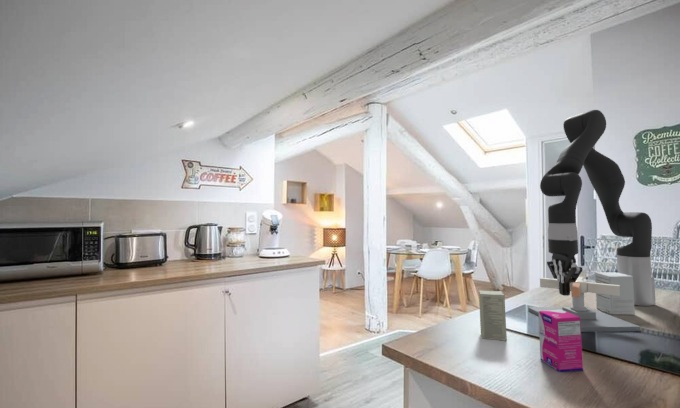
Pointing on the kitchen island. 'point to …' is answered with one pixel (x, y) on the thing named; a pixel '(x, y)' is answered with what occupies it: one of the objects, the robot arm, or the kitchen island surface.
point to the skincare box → (492, 315)
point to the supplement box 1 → (560, 340)
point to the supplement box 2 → (614, 302)
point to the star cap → (583, 287)
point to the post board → (597, 322)
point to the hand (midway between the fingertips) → (564, 294)
